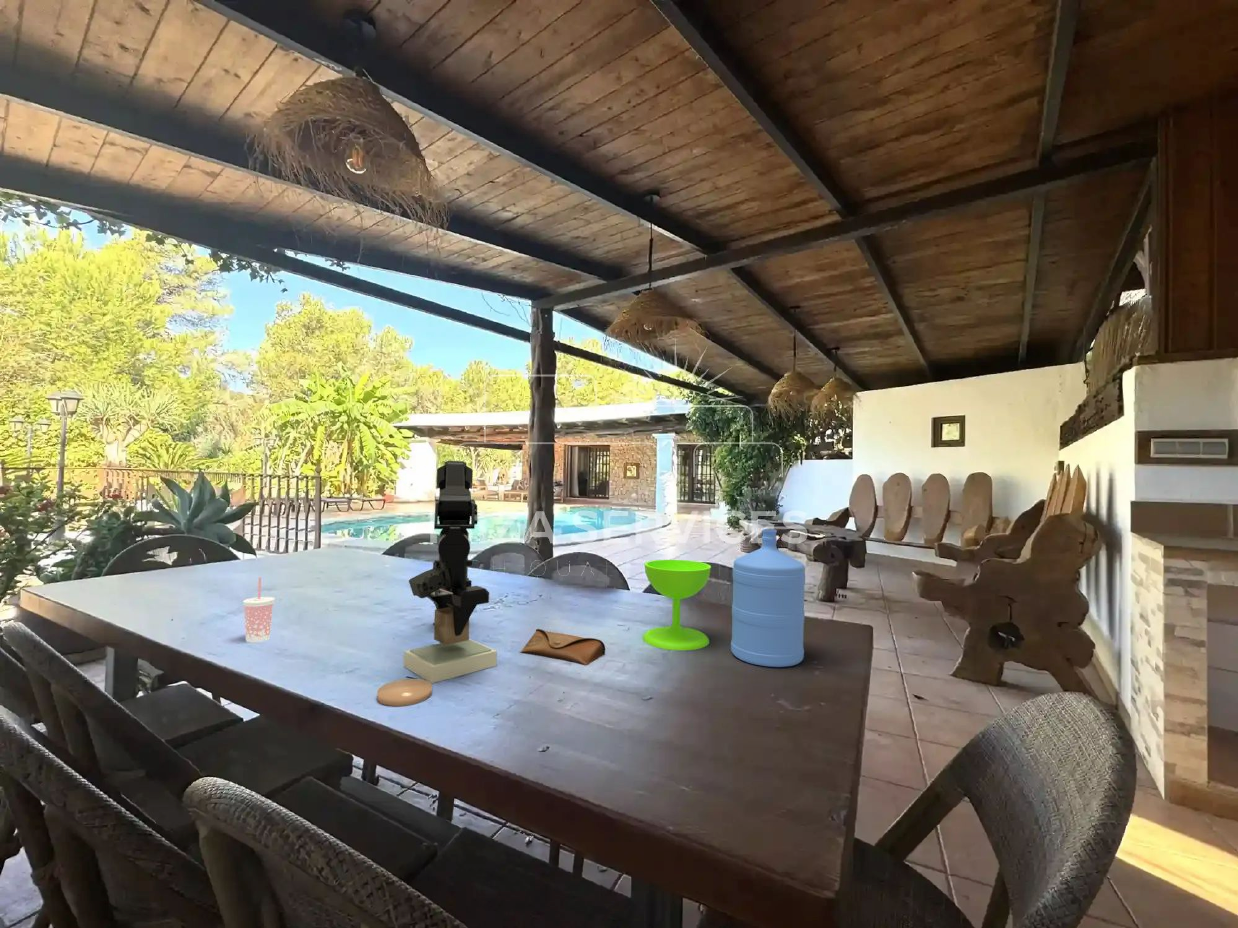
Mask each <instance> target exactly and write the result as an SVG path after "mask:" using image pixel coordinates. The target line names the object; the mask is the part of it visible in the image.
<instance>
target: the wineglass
mask: <svg viewBox="0 0 1238 928" xmlns="http://www.w3.org/2000/svg"><path fill="white" fill-rule="evenodd" d="M711 568H712V566H711V565H710V564H708V563H706V562H705V563H704V562H700V561H695V560H684V559H655V560H650V561H646V562H645V563H644V570H645V574H646V575H645V576H646V578H647V581H648V582H649V584H650V585H651V587H653V589H655V591H656V592H658V593H659V594H660V595H662V596H664V597H667V598H669V599H672V615H671V616H672V618H671V619H672V621H671V622H672V623H671V625H670V626H659V627H655V628H652V629H651V628H650V629H649V630H647V631H645V633H644V634H643V636H642V640H643V642H645V643H646V644H648V645H649V646H652V647H655V648H658V649H663V650H668V651H669V650H671V651H693V650H694V651H695V650H698V649H703V648H704V647H707V646H708V645H710V640H709V637H708V636H707V635H706V634H705V633H703V632H702V631H699V630H697V629H694V628H689V627H683V626H682V625H681V607H682V606H681V602H682V601H681V600H683V599H686V598H690V597H693V596H695V595H696V594H698V593H699V592H700V591H701V590H702V589H703V588H704V587H705V586H706V585H707V582H708V580H709V577H710V575H711Z"/></svg>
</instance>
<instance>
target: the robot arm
mask: <svg viewBox="0 0 1238 928" xmlns="http://www.w3.org/2000/svg"><path fill="white" fill-rule="evenodd" d="M473 477H474V476H473V469H472V468H471V467H470V466H468V465H467V462H466V461H463V460H446V461H444V464H443V465H441V466H440V467H438V468H436V489H439V496H438V497H439V498H435V504H434V524H433V525H434V527H433V529H434V530H440V531H439V533H438V534H439V536H438V537H439V538H438V539H439V541H438V547H437V548H438V549H437V550H438V559H435V560H434V562H432V568H431V569H428V570H425V571H424V572H421V573H419V574H418V575H415V576H413V577H411V578H410V579H409V580H408V583H409V586H410V590H411V592H412V595H413V596H414V597H418V598H419V599H425V598H428V599H429V600H430V601H432V602H433V604H434V606H435V610H436V609H442V608H448V607H450V608H451V609H452V610H453V619H454V630H455V635H456V636H459V635H461V634H462V632H463V630H464V628H465V626H466V624H467V622H468V620H469V621H470V618H471V616H472V615H473V612H475V609H476V608H477V606H478V605H483V604H489V603H490V591H488V590H487V589H486V587H482V586H479V585H474V586H473V585H472V583H473V582H472V580H471V579H470V578H469V577H468V571H469V570H468V568H469V567H471V566H473V560H471V559H469V554H470V553H471V552H470V551H471V544H470V540H469V539H470V538H469V535H470V532H468V530H469V529H470V530H472V529H473V530H475V527H476V526H475V525H478V504H477V503H476V500H475V499H474V498H473V499H472V492H471V490H470V489H473V484H474V483H473V479H474V478H473ZM438 522H439V523H438ZM432 626H434V622H432Z"/></svg>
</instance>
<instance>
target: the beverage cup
mask: <svg viewBox="0 0 1238 928" xmlns="http://www.w3.org/2000/svg"><path fill="white" fill-rule="evenodd" d="M257 589H258V591H257V597H251V598H247V599H244V600H243V601H242V605H243V607H244V628H245V629H244V630H245V642H247V643H259V642H265V641H268V640H270V638H271V628H272V618H273V608H274V603H275V601H276V600H275V599H276V598H275V597H273V596H261V593H262V590H261V589H262V577H258V588H257Z"/></svg>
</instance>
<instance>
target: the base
mask: <svg viewBox="0 0 1238 928" xmlns="http://www.w3.org/2000/svg"><path fill="white" fill-rule="evenodd" d="M497 656H498V651H497V650H496V649H495V648H494V649H493V648H491V647H490V646H487V645H485V644H482V643H480V642H478V641H475V640H473V639H471V638H469V640H467V641H463V642H458V643H454V644H450V645H444V644H442V643H440V642H439V643H435V644H430V645H426V646H425V645H424V646H422V647H417V648H411V649H408V650H404V651H403V667H404V668H406V669H408V670H410V671H411V672H412V673H414V674H416V675H417V676H419V677H421V679H423V680H426V681H428V682H430V683H431V684H434V683H437V682H442V681H445V680H448V679H453V678H457V677H460V676H464V675H467V674H472V673H474V672H478V671H482V670H486V669H489V668H493V667H496V666H497V664H498V663H497V661H498V657H497Z"/></svg>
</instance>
